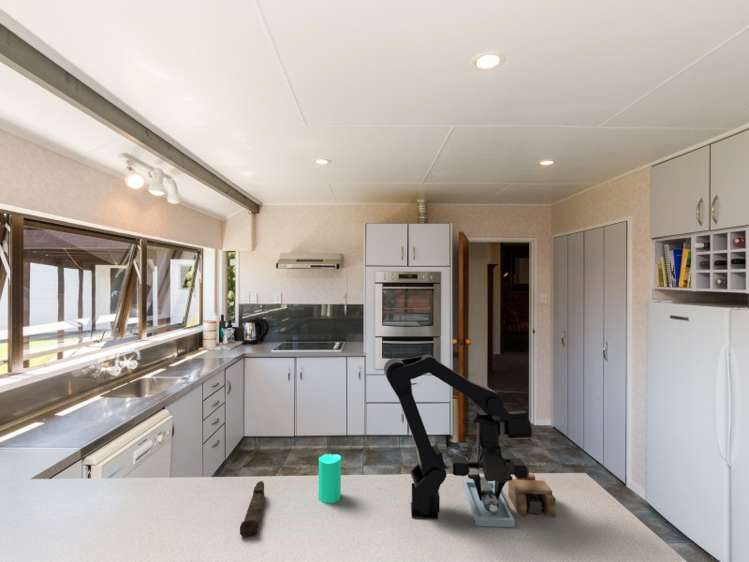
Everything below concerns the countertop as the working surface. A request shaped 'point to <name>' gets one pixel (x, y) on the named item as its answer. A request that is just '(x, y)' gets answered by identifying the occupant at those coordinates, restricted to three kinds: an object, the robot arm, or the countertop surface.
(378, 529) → the countertop surface
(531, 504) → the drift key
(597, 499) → the countertop surface
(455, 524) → the countertop surface
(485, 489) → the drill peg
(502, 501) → the tray
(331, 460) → the candle
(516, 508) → the socket block
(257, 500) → the dark brown rod
